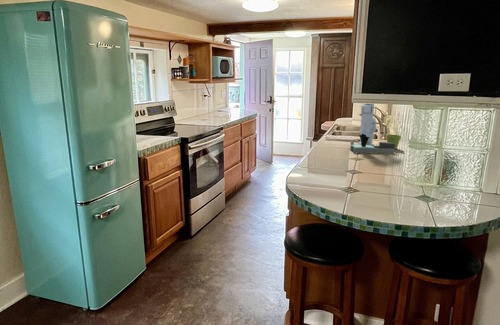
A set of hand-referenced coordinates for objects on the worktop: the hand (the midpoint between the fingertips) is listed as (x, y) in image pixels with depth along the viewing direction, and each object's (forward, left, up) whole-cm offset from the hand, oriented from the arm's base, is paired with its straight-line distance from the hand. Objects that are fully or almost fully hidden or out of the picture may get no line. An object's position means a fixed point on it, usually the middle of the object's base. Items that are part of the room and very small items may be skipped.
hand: (363, 146), depth 211 cm
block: (-1, +15, -4) cm, 15 cm away
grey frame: (-2, +6, -4) cm, 7 cm away
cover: (-1, 0, 0) cm, 1 cm away
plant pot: (-12, +23, -4) cm, 26 cm away
